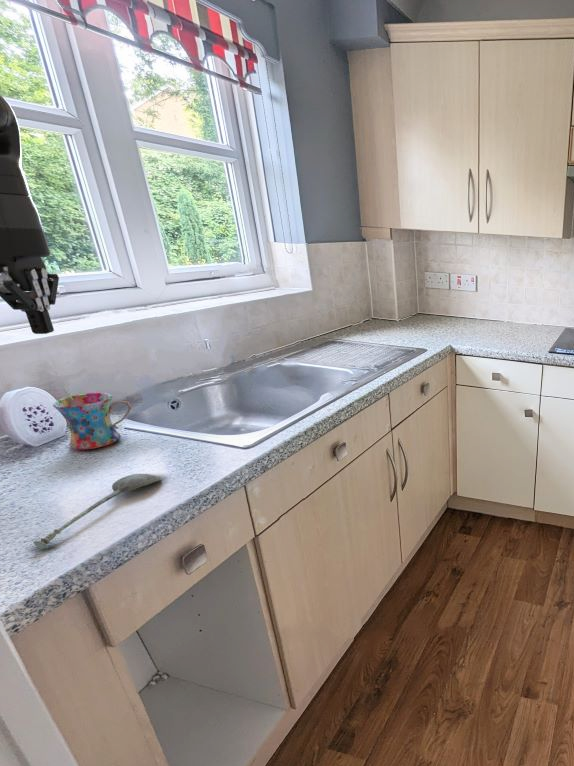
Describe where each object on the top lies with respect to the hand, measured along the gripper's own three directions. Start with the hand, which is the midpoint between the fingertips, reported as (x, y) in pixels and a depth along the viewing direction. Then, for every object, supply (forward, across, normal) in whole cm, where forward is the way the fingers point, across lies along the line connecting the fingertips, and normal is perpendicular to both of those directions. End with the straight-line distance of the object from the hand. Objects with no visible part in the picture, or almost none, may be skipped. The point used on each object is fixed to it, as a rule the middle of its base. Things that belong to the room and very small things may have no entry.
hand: (43, 332), depth 78 cm
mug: (+29, -19, -6) cm, 35 cm away
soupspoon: (+29, +12, +7) cm, 32 cm away
